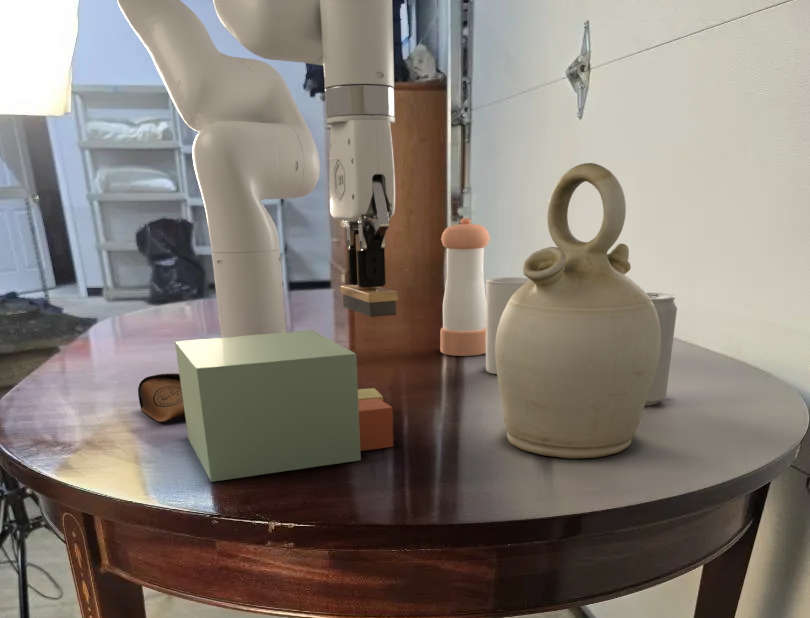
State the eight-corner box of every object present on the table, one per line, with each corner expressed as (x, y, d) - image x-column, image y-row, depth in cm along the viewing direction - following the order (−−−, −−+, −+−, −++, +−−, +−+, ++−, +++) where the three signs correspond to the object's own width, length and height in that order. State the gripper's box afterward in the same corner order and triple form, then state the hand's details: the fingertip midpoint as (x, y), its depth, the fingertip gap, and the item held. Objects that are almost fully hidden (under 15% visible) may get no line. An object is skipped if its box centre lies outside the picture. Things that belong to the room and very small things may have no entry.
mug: (502, 378, 103) (506, 284, 98) (474, 369, 108) (476, 279, 103) (561, 369, 107) (568, 278, 102) (532, 361, 112) (536, 274, 107)
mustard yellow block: (337, 390, 81) (374, 387, 82) (339, 427, 83) (375, 424, 84) (344, 399, 78) (383, 396, 79) (346, 438, 79) (384, 434, 80)
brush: (341, 307, 97) (337, 233, 93) (368, 305, 98) (365, 232, 94) (369, 317, 88) (366, 236, 85) (398, 315, 89) (396, 235, 86)
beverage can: (666, 395, 93) (679, 291, 88) (664, 409, 87) (677, 299, 82) (612, 392, 95) (621, 290, 90) (606, 405, 89) (616, 297, 84)
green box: (186, 435, 81) (172, 338, 77) (314, 419, 86) (308, 327, 82) (211, 482, 68) (196, 368, 64) (361, 460, 73) (356, 353, 69)
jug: (546, 475, 68) (567, 160, 58) (465, 430, 81) (469, 166, 71) (683, 451, 74) (724, 159, 63) (586, 413, 86) (607, 165, 76)
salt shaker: (497, 352, 119) (501, 217, 111) (459, 358, 115) (461, 219, 107) (467, 345, 124) (469, 216, 116) (431, 350, 121) (430, 218, 113)
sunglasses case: (161, 421, 84) (143, 363, 84) (149, 440, 90) (133, 386, 90) (309, 397, 93) (293, 344, 93) (289, 415, 99) (274, 366, 99)
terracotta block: (340, 402, 77) (378, 397, 78) (342, 441, 78) (379, 436, 80) (353, 411, 73) (392, 407, 75) (355, 452, 75) (393, 446, 76)
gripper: (307, 115, 90) (317, 281, 97) (351, 100, 76) (359, 294, 84) (367, 116, 92) (373, 277, 100) (421, 101, 79) (423, 290, 86)
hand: (367, 283), depth 92 cm, fingers closed on brush, 2 cm apart
